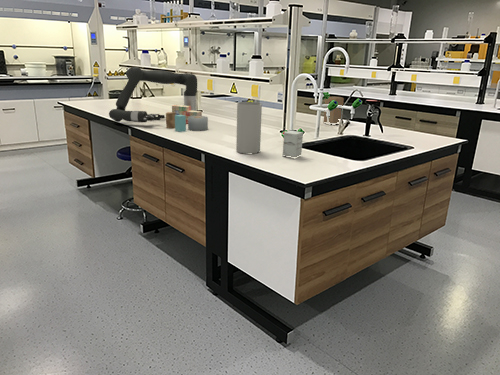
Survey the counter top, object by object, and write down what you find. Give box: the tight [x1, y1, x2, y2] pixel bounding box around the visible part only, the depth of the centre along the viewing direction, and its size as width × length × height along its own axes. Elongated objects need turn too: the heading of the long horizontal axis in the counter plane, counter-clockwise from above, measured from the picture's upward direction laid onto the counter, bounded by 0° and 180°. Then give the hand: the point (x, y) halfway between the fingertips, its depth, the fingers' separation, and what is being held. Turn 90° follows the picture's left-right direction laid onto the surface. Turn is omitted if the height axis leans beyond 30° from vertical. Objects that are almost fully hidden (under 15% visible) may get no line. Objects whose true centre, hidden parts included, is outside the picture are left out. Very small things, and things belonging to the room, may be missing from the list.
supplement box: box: [282, 130, 304, 157], centre depth 199 cm, size 7×7×13 cm
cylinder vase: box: [235, 101, 263, 154], centre depth 204 cm, size 12×12×25 cm
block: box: [323, 96, 345, 123], centre depth 297 cm, size 10×10×20 cm
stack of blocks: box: [171, 104, 203, 125], centre depth 283 cm, size 21×6×12 cm, turn 65°
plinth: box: [187, 115, 209, 132], centre depth 263 cm, size 13×13×8 cm
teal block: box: [174, 115, 187, 133], centre depth 255 cm, size 5×5×10 cm
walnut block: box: [165, 111, 176, 130], centre depth 265 cm, size 5×5×10 cm
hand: (162, 117), depth 265 cm, fingers open, 8 cm apart
